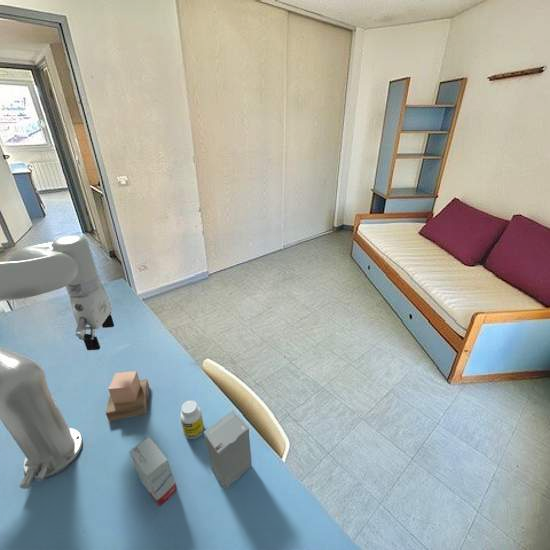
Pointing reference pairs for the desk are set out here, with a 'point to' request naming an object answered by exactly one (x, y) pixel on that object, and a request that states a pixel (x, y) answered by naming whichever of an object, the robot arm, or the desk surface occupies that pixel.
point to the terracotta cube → (124, 387)
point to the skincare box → (228, 448)
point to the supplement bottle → (191, 420)
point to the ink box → (154, 470)
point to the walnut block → (129, 405)
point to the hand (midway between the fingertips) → (101, 337)
